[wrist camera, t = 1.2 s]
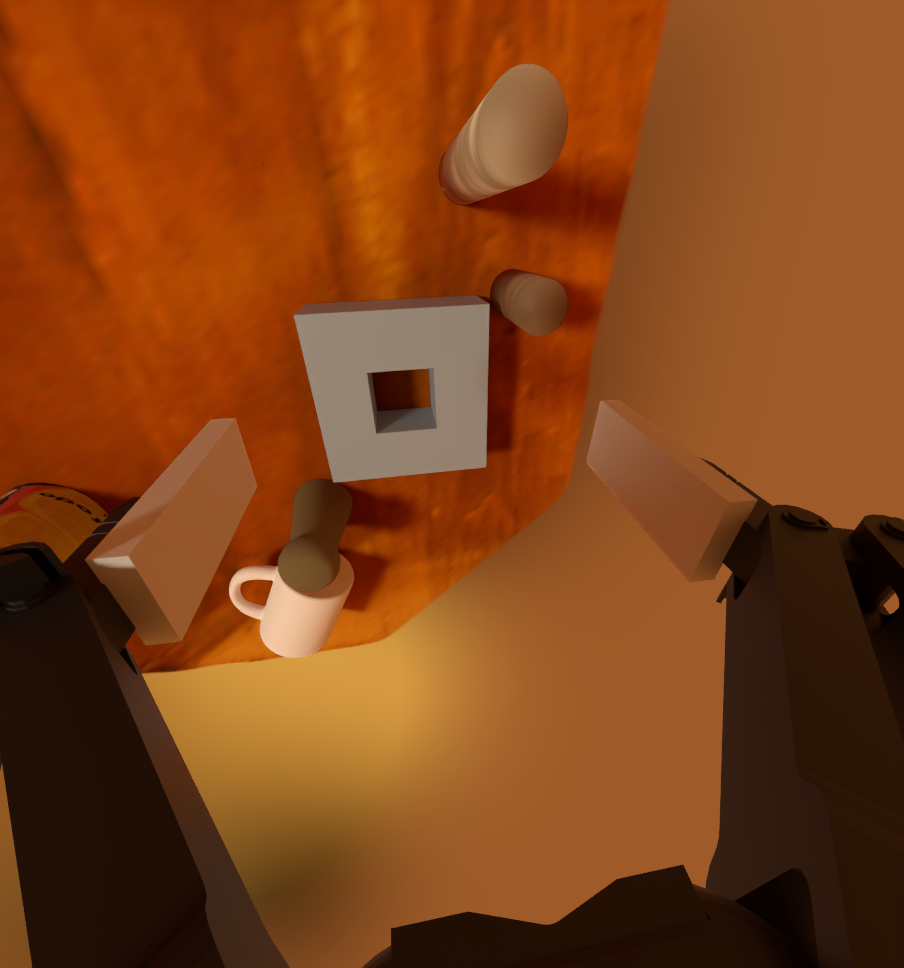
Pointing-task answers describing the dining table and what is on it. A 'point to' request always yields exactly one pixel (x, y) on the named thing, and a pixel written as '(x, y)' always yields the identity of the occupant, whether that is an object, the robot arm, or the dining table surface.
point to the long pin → (507, 137)
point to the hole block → (393, 347)
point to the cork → (315, 535)
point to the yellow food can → (48, 517)
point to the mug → (294, 610)
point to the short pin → (529, 301)
